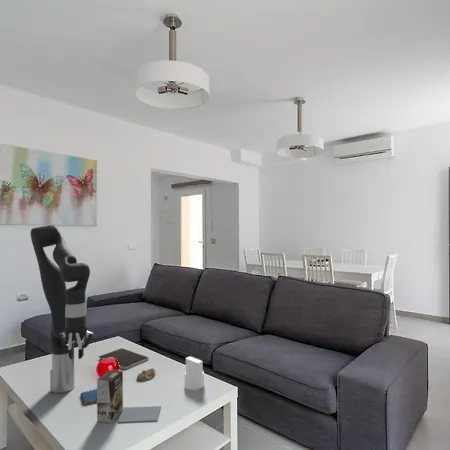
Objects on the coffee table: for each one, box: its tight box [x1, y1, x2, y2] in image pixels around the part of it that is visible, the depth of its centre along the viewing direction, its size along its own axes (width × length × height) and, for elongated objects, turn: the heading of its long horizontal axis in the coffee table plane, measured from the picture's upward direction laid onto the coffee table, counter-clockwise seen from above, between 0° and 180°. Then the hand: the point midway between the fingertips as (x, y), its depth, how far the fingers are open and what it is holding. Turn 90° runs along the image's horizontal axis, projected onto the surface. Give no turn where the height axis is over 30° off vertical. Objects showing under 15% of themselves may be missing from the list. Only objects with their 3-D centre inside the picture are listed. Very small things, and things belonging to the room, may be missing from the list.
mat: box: [117, 405, 162, 424], centre depth 134 cm, size 15×10×1 cm, turn 93°
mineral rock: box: [136, 368, 156, 382], centre depth 168 cm, size 11×4×8 cm
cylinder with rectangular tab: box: [183, 356, 205, 391], centre depth 158 cm, size 9×9×12 cm
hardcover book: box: [98, 348, 149, 370], centre depth 189 cm, size 16×23×2 cm
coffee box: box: [96, 369, 124, 424], centre depth 134 cm, size 9×6×16 cm
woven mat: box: [79, 388, 97, 406], centre depth 148 cm, size 10×11×2 cm
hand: (76, 358), depth 133 cm, fingers open, 2 cm apart
